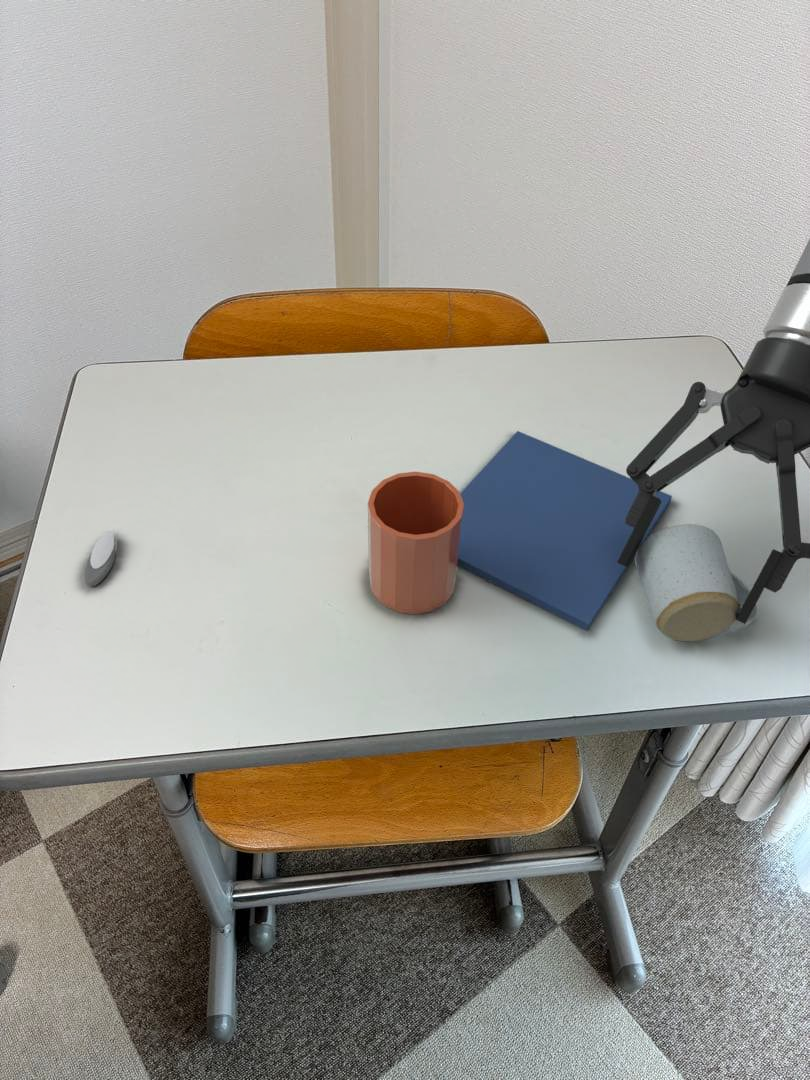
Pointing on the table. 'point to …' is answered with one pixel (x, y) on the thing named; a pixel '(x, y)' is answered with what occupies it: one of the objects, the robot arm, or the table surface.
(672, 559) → the ceramic mug
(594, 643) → the table surface
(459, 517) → the clay cup
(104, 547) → the oval pebble
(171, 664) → the table surface
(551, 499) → the blue mat
